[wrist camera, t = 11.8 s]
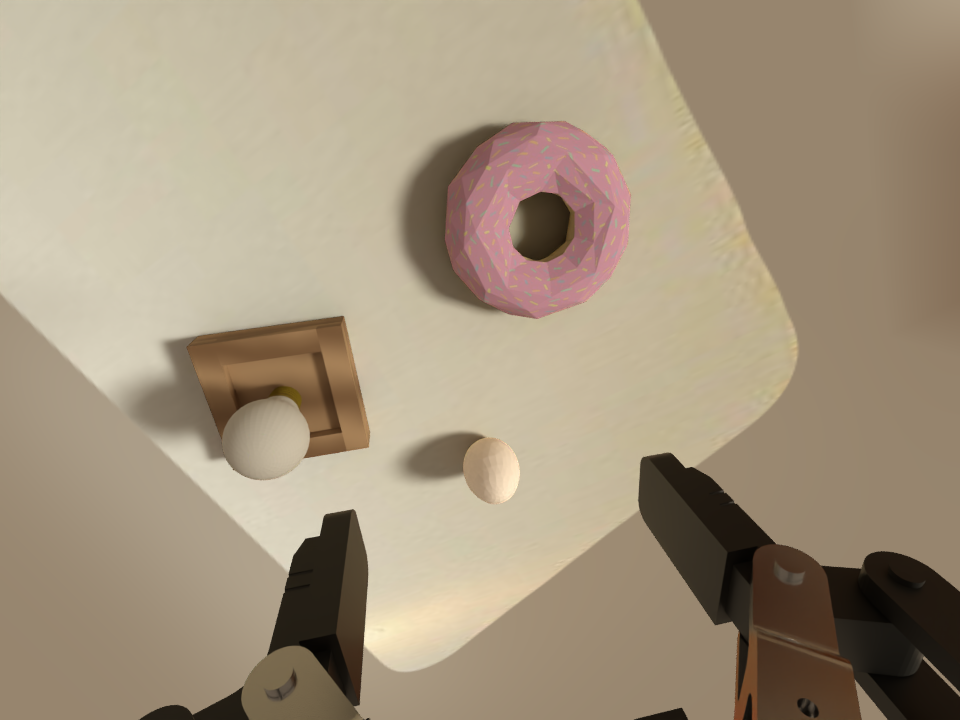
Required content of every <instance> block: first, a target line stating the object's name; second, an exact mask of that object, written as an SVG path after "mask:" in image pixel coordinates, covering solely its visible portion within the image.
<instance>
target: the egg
mask: <svg viewBox="0 0 960 720" xmlns="http://www.w3.org/2000/svg"><path fill="white" fill-rule="evenodd" d="M463 472H464V476H465V479H466V482H467V485H468V486H469V488H470V490H471V491H472V492H473V493H474V494H475V495H476V496H477V497H478V498H480V499H481V500H483V501H485V502H487V503H490V504H499V503H503V502H505V501H507V500H508V499H510V498H511V496H512V495H513V494H514V492H515V490H516V488H517V486H518V482H519V477H520V469H519V463H518V460H517V458H516V455H515V453H514V452H513V450H512V449H511V448H510V447H509V446H508V444H506V443H505V442H503V441H501V440H499V439H496V438H482V439H480V440H478V441H476V442H475V443H473V444H472V445H471V446H470V447H469V449H468V450H467V452H466V455H465V457H464V463H463Z"/></svg>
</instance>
